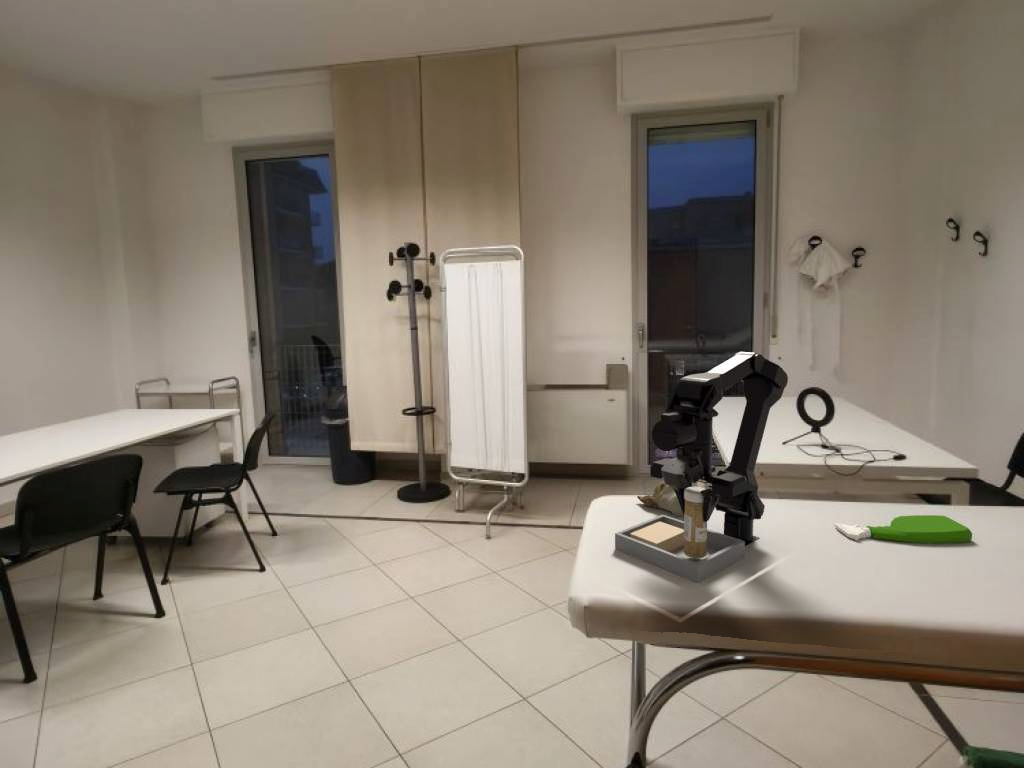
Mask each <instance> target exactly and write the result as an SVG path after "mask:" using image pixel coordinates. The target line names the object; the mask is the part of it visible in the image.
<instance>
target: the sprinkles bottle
mask: <svg viewBox="0 0 1024 768" xmlns="http://www.w3.org/2000/svg"><path fill="white" fill-rule="evenodd" d="M705 489H706V488H704V487H699V486H692V487H688V488H686V489H685V490H684V499H685V513H684V516H683V517H684V518H683V521H684V550H683V552H684V554H685V555H686V556H688V557H692V558H703V557H705V556H706V555H707V552H706V540H707V529H708V521H707V522H704V519H703V500H704V498H703V496H702V494H701V493H700V491H702V490H705Z"/></svg>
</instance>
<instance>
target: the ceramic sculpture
mask: <svg viewBox="0 0 1024 768" xmlns="http://www.w3.org/2000/svg"><path fill="white" fill-rule="evenodd" d="M636 497H637V499H638V500H639V501H640V502H641V503H643V504H644V505H645V506H647V507H651V508H659V509H661V510H664V511H668V512H671V513H672V515H674V517H684V515H683V512H682V509H681V507H680V504H679V501H678V498H677V496H676V494H675V491H674V489H673V488H672V487H670V486H669V485H667V484H665V483H664V481H661V482H659V483H658V484H656V485H655V488H654V491H653V494H651V495H650V494H647V495H644V496H642V495H638V496H636Z"/></svg>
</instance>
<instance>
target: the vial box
mask: <svg viewBox="0 0 1024 768" xmlns="http://www.w3.org/2000/svg"><path fill="white" fill-rule="evenodd" d="M630 537H631V538H633V539H636V540H639V541H641V542H644V543H646V544H649V545H652V546H654V547H657V548H659V549H662V550H665V551H667V552H670V551H672V550H675V549H677V548H679V547H681V546H683V545H684V529H681V528H678V527H675V526H672V525H669V524H666V523H663V522H657V523H655V524H652V525H650V526H647V527H645V528H642V529H640V530H637V531H635V532H633V533H630Z"/></svg>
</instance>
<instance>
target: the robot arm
mask: <svg viewBox="0 0 1024 768" xmlns="http://www.w3.org/2000/svg"><path fill="white" fill-rule="evenodd" d="M740 381H741V382H742V389H741V390H742V392H743V395H744V398H745V400H746V401H745V402H746V403H745V407H744V410H743V414H742V418H741V421H740V425H739V428H738V432H737V436H736V441H735V444H734V448H733V451H732V454H731V455H732V456H731V460H730V463H729V465H728V466H727V467H726V468H725V469H723V470H722V469H719V470H718V471H717V470H716V468H717V467H716V466H715V465H713V453H715V452H716V451H717V445H713V418H716V417H719V412H718V411H717V410H716V409H714V407H715V406H716V405H717V404H718V403H719V402H721V400H722V399H723V393H724V392H725V391H726V390H727V389H729V388H731V387H733V386H734V385H735V384H737V383H739V382H740ZM788 381H789V377H788V374H787V372H786V370H785V371H784V368H783V367H781V366H780V365H779V364H777V363H775V362H773V361H771V360H768V359H767V358H765V357H764V356H763V355H762V354H761V353H759V352H753V351H750V352H748V351H747V352H746V351H739V352H736V353H735V354H734V356H733V357H731V358H729V359H728V360H725V361H724V362H723V363H720V364H719V365H717V366H715V367H713V368H711V370H709V371H707V372H702V373H701V372H700V373H694V374H688V375H687V376H683V377H681V378H680V379H679V380H678V382H677V385H676V386H675V389H674V391H673V393H672V396H671V398H670V399H669V402H668V404H667V407H666V408H665V412H666V413H662V414H660V420H658V421H657V422H656V423H655V424H654V426H653V428H652V430H651V438H652V441H653V443H654V445H655V446H656V448H658V449H659V450H660V451H663V452H670V451H674V450H676V453H675V457H673V458H666V457H665V458H662V459H659V460H657V461H653V462H652V463H651V465H650V467H649V476H650V477H652V478H656V479H659V480H660V479H663V482H664V483H665V484H667V485H669V486H670V487H672V488H673V489H674V491H675V494H676V496H677V498H678V501H679V504H680V507H681V509H682V512H683V515H684V513H685V499H684V490H685V489H686V488H688V487H693V484H696V483H697V482H699V483H701V484H705V485H706V488H704V489H705V490H702V491H700V493H701V494H702V496H703V498H704V500H703V519H704V522H707V523H708V522H709V521H710V518H711V516H712V514H713V512H715V511H719V512H723V513H724V515H723V516H724V520H723V521H724V522H723V534H724V535H727V536H730V537H733V538H736V539H739V540H742V541H745V547H746V546H748V545H750V544H752V543H755V542H756V541H757V540H760V537H758V536H755V535H754V521H755V520H761V519H762V516H763V515H764V513H765V508H766V507H765V504H764V502H763V501H762V499H761V498H760V497H759V496H758V491H759V485H758V482H757V478H756V476H755V467H756V463H757V460H758V457H759V453H760V449H761V445H762V440H763V437H764V432H765V429H766V426H767V421H768V418H769V415H770V410H771V408H772V407H773V406H774V405H775V404H776V403H778V401H780V400H781V398H782V396H783V393H784V391H785V388H786V387H787V386H788ZM716 471H717V473H716V475H715V474H712V473H715V472H716ZM714 510H715V511H714Z"/></svg>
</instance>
